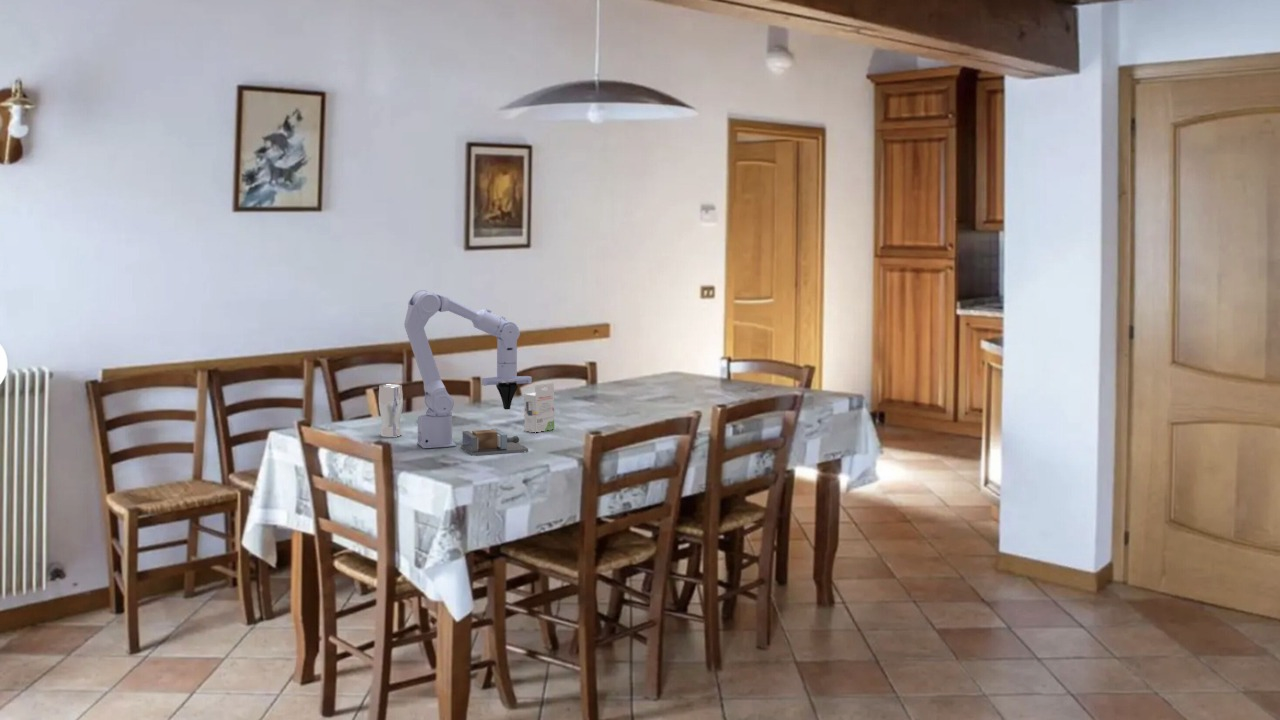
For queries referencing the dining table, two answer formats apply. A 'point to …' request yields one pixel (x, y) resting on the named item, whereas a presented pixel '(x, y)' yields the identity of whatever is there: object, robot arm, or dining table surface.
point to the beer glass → (390, 409)
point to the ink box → (539, 409)
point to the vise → (472, 447)
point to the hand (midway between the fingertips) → (506, 408)
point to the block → (486, 439)
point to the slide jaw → (504, 439)
